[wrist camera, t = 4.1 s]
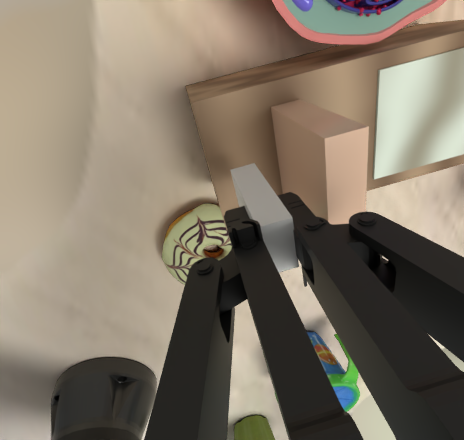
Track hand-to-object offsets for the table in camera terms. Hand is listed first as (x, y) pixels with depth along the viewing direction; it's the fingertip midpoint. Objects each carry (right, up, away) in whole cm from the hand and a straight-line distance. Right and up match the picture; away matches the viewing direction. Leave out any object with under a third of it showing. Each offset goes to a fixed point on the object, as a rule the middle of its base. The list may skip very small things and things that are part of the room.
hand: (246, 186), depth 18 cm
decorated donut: (-3, -4, +18) cm, 19 cm away
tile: (+3, +3, +3) cm, 5 cm away
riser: (+7, +9, +12) cm, 17 cm away
